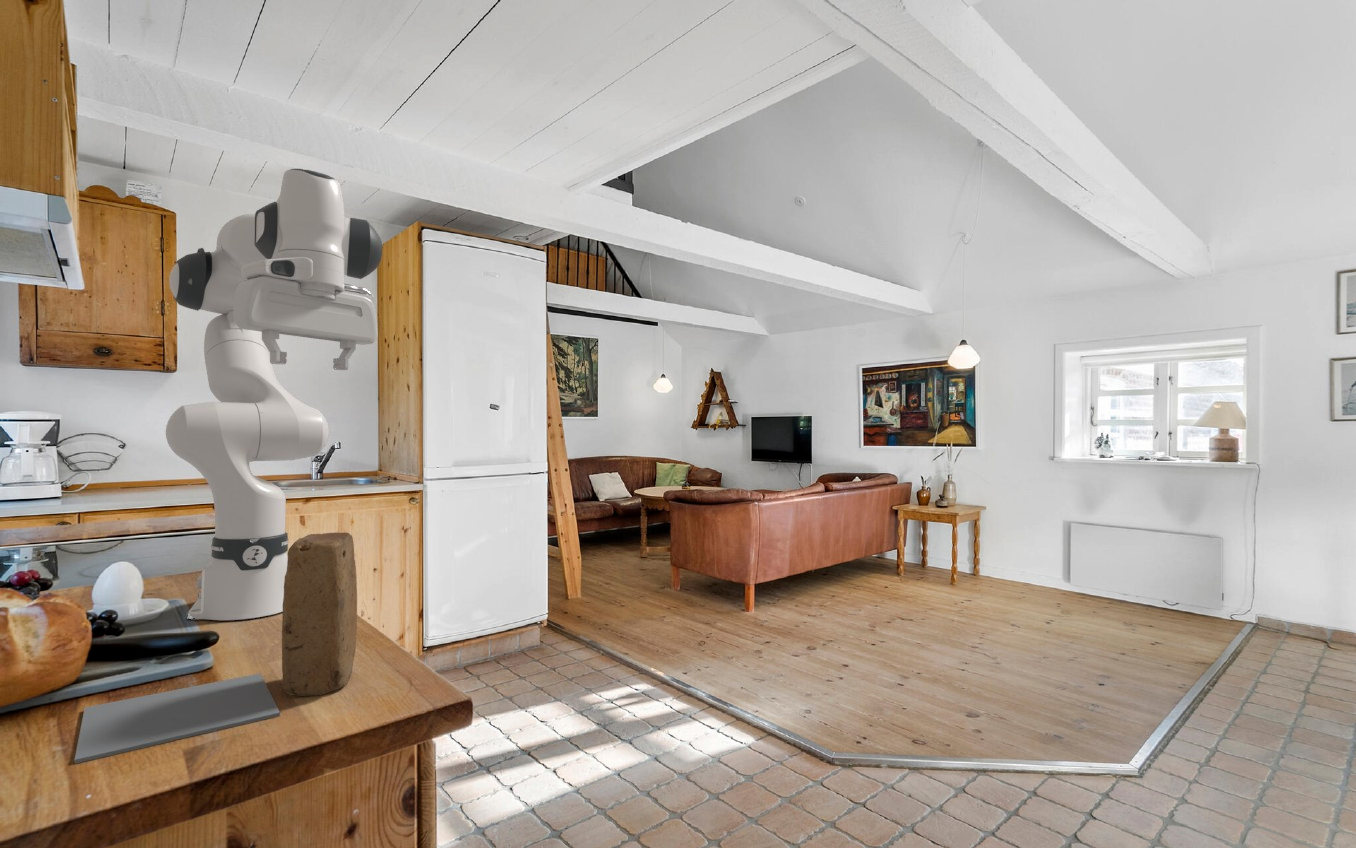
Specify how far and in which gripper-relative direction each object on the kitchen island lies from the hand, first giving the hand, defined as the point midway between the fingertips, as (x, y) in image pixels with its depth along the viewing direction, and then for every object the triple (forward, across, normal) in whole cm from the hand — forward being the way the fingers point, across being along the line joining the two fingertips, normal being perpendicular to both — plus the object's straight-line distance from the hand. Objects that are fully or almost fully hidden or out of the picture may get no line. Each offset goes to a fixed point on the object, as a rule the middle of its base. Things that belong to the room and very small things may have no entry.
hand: (310, 367), depth 99 cm
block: (+44, +5, +12) cm, 46 cm away
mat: (+44, +19, +7) cm, 48 cm away
